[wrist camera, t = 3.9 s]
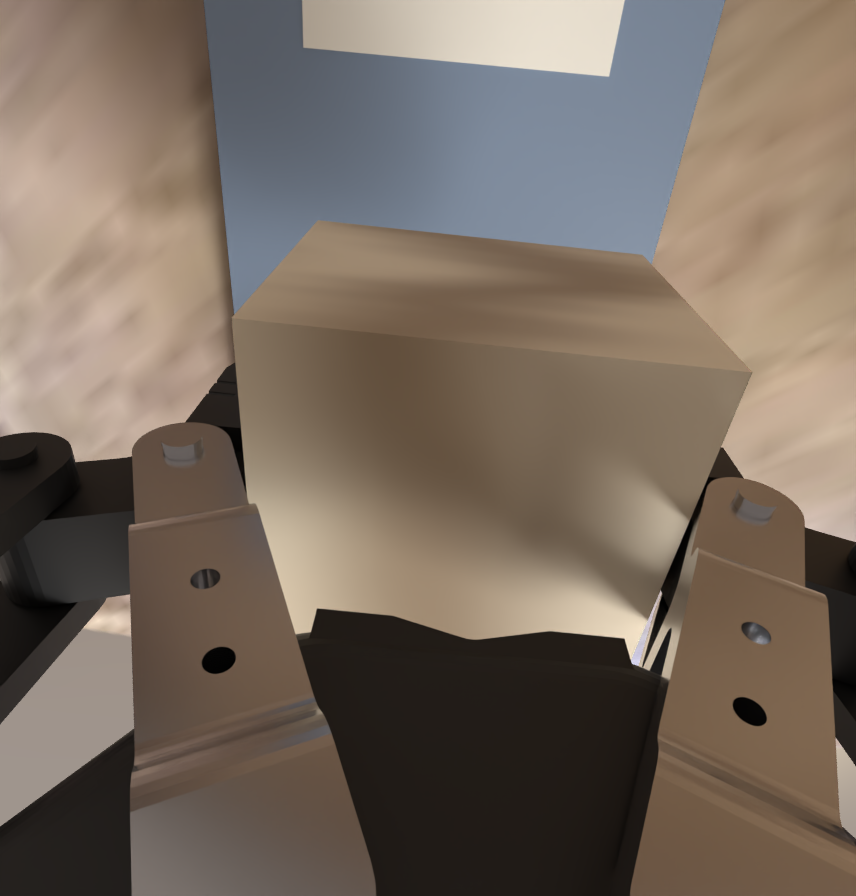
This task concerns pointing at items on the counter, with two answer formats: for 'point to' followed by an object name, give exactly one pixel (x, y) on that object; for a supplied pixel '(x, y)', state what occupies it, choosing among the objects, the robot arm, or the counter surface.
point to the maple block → (476, 429)
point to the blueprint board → (452, 119)
